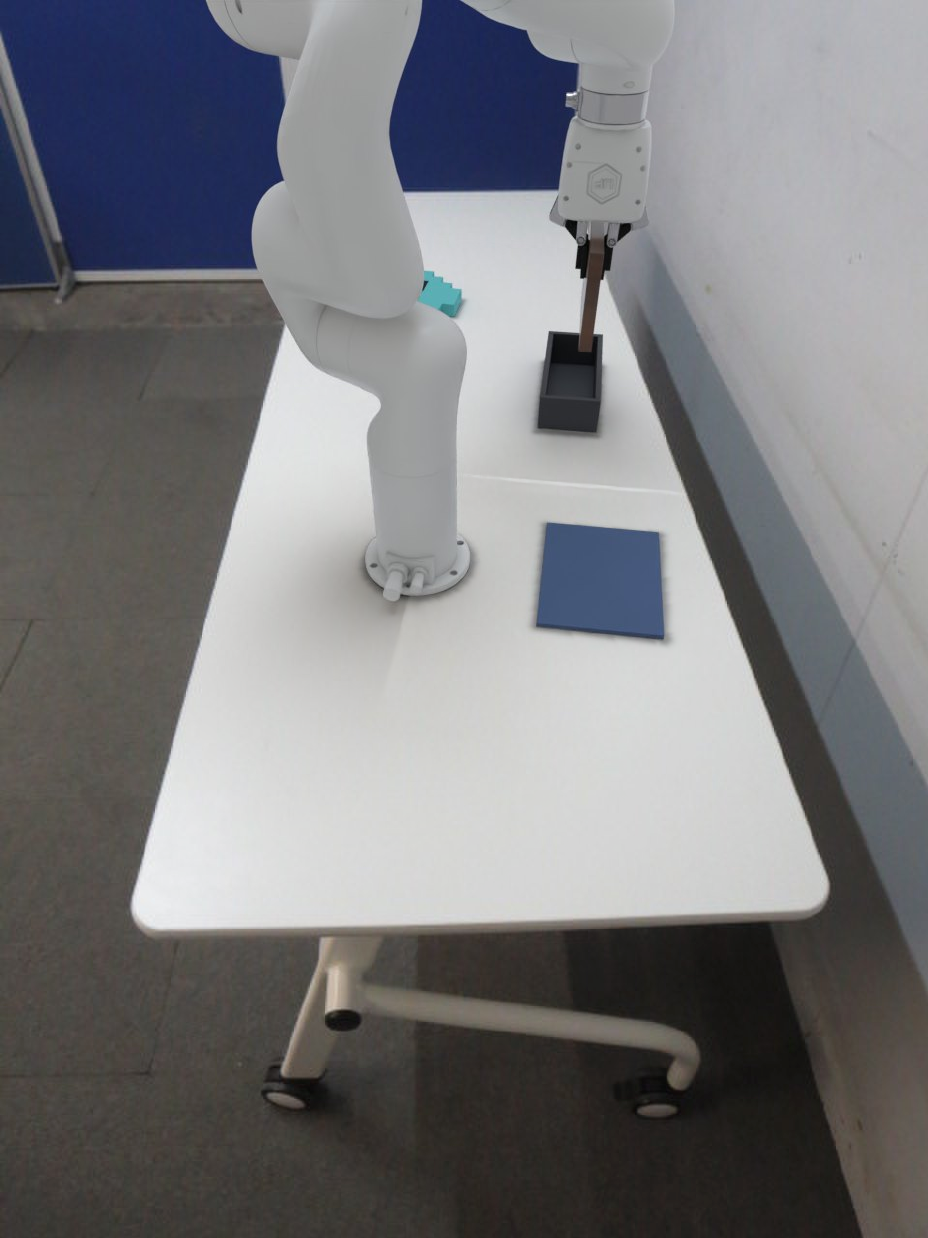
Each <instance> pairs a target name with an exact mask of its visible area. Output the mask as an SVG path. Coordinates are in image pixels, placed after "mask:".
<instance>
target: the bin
mask: <svg viewBox="0 0 928 1238" xmlns="http://www.w3.org/2000/svg"><path fill="white" fill-rule="evenodd" d="M547 333H548V334H547V341H546V348H545V356H544V364H543V370H542V377H541V378H542V379H541V386H540V393H539V401H538V412H537V413H538V415H537V416H538V417H537V429H542V430H554V431H566V432H569V431H570V432H581V433H592V434H593V433H594V434H597V432H598V427H599V426H598V425H599V419H600V410H601V403H602V382H603V381H602V378H603V373H602V372H603V351H604V349H603V348H604V334H603V333H602V334H601V333H594V335H593V342H592V350H591V352H580V351H578V350H579V332H572V331H557V330H556V331H554V330H548V332H547Z"/></svg>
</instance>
